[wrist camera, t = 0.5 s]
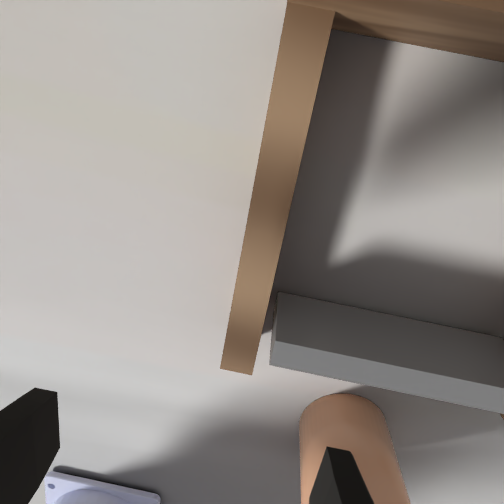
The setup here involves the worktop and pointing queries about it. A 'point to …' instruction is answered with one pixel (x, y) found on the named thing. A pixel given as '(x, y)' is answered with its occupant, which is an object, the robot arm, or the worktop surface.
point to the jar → (351, 445)
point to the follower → (388, 352)
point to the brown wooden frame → (299, 114)
